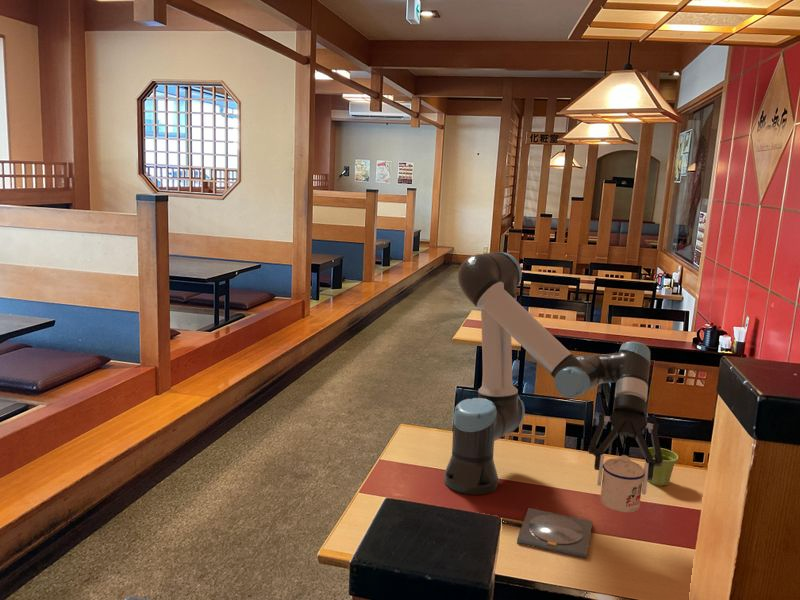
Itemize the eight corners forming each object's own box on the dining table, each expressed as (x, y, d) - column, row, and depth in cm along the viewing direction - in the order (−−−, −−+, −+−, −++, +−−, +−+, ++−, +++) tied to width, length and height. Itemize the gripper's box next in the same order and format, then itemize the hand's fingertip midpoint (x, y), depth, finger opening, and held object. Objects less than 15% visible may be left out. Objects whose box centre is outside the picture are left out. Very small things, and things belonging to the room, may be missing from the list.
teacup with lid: (632, 518, 142) (638, 469, 140) (592, 503, 148) (598, 456, 145) (649, 498, 151) (655, 452, 149) (612, 485, 157) (617, 441, 154)
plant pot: (671, 492, 180) (675, 463, 179) (637, 483, 185) (640, 455, 184) (677, 480, 188) (680, 452, 187) (644, 471, 193) (647, 444, 192)
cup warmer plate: (488, 536, 154) (488, 530, 154) (502, 506, 169) (502, 501, 168) (586, 559, 146) (587, 552, 146) (591, 525, 161) (592, 519, 161)
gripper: (676, 414, 157) (670, 503, 145) (584, 400, 164) (572, 483, 152) (680, 400, 151) (674, 492, 139) (584, 386, 158) (572, 472, 146)
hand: (621, 487), depth 146 cm, fingers closed on teacup with lid, 9 cm apart
